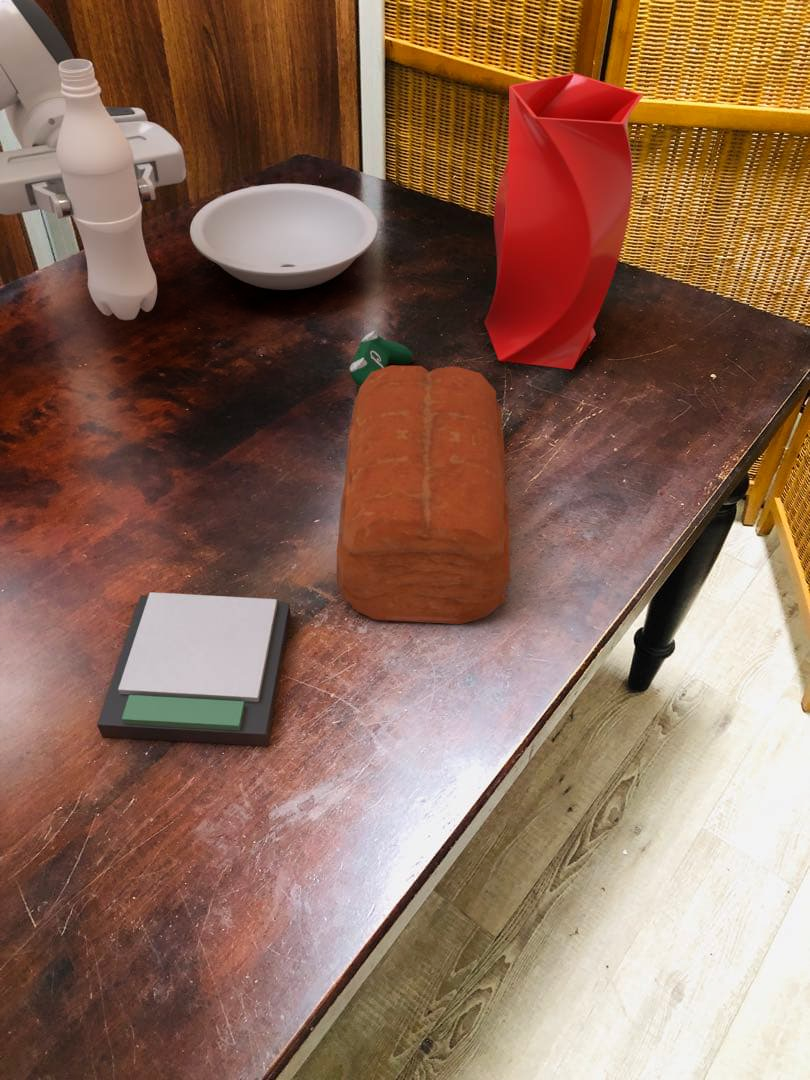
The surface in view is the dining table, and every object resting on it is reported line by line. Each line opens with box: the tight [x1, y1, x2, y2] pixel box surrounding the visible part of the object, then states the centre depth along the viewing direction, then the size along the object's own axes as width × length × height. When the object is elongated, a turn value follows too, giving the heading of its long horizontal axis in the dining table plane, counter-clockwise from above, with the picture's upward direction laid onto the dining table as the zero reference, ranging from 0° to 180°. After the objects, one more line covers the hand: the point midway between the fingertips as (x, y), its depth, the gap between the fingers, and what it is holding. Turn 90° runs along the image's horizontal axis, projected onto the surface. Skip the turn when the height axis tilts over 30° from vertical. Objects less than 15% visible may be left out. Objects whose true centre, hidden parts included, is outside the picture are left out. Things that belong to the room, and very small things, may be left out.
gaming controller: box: [349, 330, 414, 388], centre depth 101 cm, size 9×4×6 cm
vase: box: [483, 72, 644, 370], centre depth 99 cm, size 15×14×28 cm
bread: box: [336, 364, 511, 625], centre depth 82 cm, size 16×27×11 cm, turn 178°
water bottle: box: [56, 58, 158, 321], centre depth 89 cm, size 7×7×25 cm
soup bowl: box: [189, 183, 379, 291], centre depth 115 cm, size 24×24×7 cm
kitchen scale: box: [96, 591, 292, 747], centre depth 72 cm, size 13×13×2 cm
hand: (107, 201), depth 88 cm, fingers closed on water bottle, 7 cm apart
